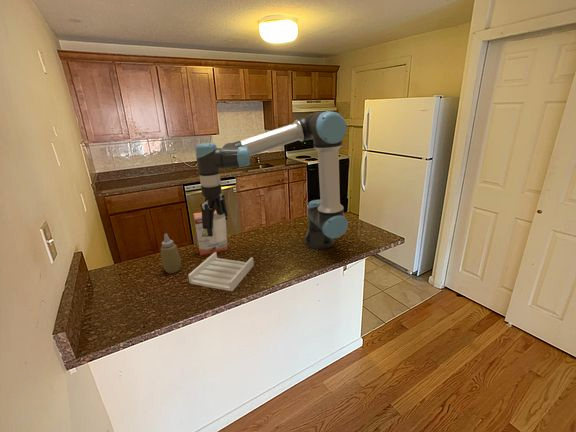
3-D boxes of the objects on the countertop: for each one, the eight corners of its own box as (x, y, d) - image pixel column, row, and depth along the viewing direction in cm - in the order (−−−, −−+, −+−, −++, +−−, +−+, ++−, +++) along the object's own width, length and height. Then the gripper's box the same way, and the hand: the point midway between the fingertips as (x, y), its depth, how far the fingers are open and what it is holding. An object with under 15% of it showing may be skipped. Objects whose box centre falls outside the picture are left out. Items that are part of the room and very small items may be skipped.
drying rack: (253, 265, 127) (253, 257, 126) (232, 291, 110) (231, 282, 108) (215, 260, 133) (214, 252, 132) (189, 283, 116) (188, 274, 114)
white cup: (230, 234, 119) (227, 213, 115) (224, 243, 112) (221, 220, 108) (212, 234, 120) (209, 213, 116) (205, 243, 112) (202, 220, 109)
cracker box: (200, 256, 137) (193, 217, 130) (199, 251, 143) (192, 212, 135) (228, 250, 142) (223, 212, 135) (226, 245, 147) (221, 208, 140)
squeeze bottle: (186, 266, 129) (179, 231, 122) (174, 276, 121) (166, 239, 115) (172, 264, 131) (164, 229, 125) (159, 273, 124) (151, 237, 118)
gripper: (216, 178, 118) (223, 228, 126) (185, 191, 100) (195, 248, 108) (232, 179, 115) (238, 229, 123) (203, 192, 97) (212, 250, 105)
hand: (218, 238), depth 116 cm, fingers closed on white cup, 7 cm apart
